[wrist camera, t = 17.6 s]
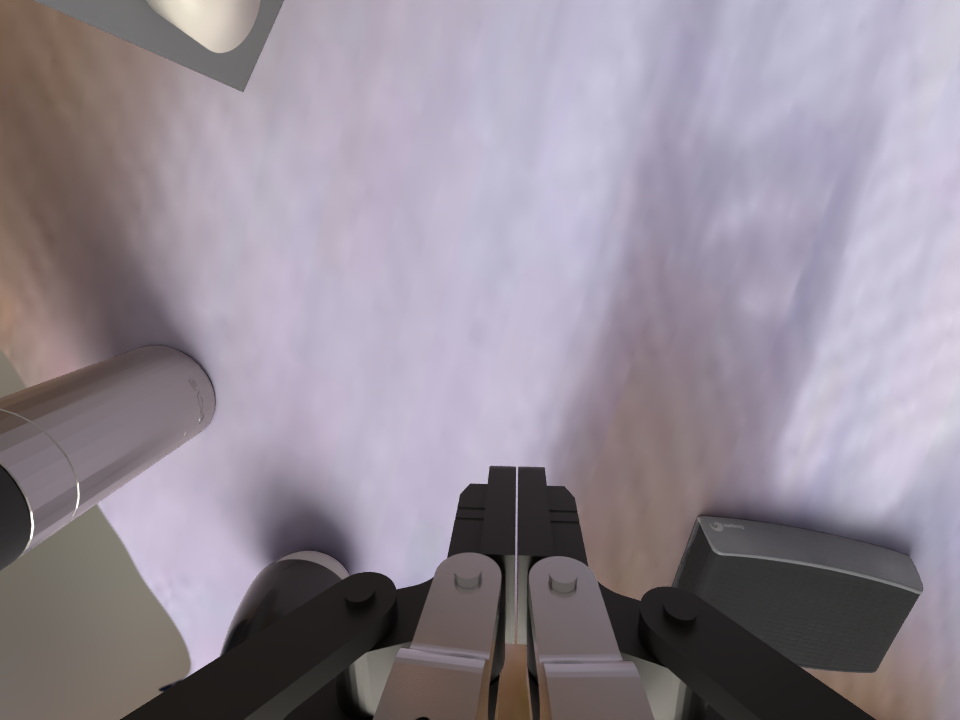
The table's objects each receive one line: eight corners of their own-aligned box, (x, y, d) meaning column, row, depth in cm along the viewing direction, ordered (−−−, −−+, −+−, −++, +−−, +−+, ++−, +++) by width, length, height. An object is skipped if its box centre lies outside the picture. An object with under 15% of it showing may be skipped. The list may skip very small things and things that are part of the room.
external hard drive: (698, 505, 43) (716, 534, 39) (909, 546, 43) (948, 579, 39) (657, 614, 47) (669, 650, 43) (850, 652, 47) (880, 693, 43)
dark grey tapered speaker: (335, 631, 51) (262, 799, 36) (253, 579, 49) (143, 731, 35) (388, 572, 48) (331, 729, 33) (301, 515, 46) (203, 652, 32)
